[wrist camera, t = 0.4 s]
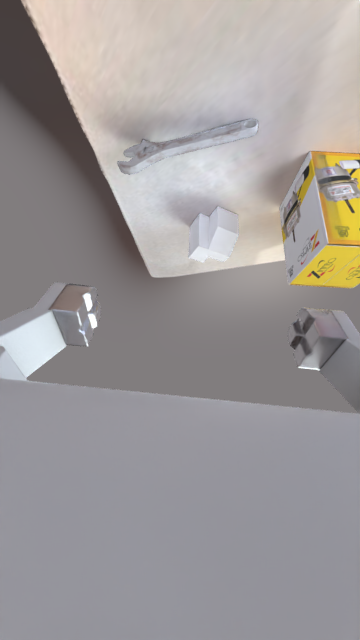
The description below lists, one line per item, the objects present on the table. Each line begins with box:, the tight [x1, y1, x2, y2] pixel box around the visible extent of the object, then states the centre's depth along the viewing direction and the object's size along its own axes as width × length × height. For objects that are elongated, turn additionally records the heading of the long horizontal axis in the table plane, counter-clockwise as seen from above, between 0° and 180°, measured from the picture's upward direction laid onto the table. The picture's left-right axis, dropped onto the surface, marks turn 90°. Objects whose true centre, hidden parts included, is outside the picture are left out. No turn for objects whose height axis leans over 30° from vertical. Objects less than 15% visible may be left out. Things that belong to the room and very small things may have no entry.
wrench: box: [117, 119, 258, 175], centre depth 50 cm, size 8×2×30 cm
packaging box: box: [279, 151, 360, 288], centre depth 56 cm, size 16×16×25 cm
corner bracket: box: [188, 206, 239, 263], centre depth 72 cm, size 11×11×12 cm
